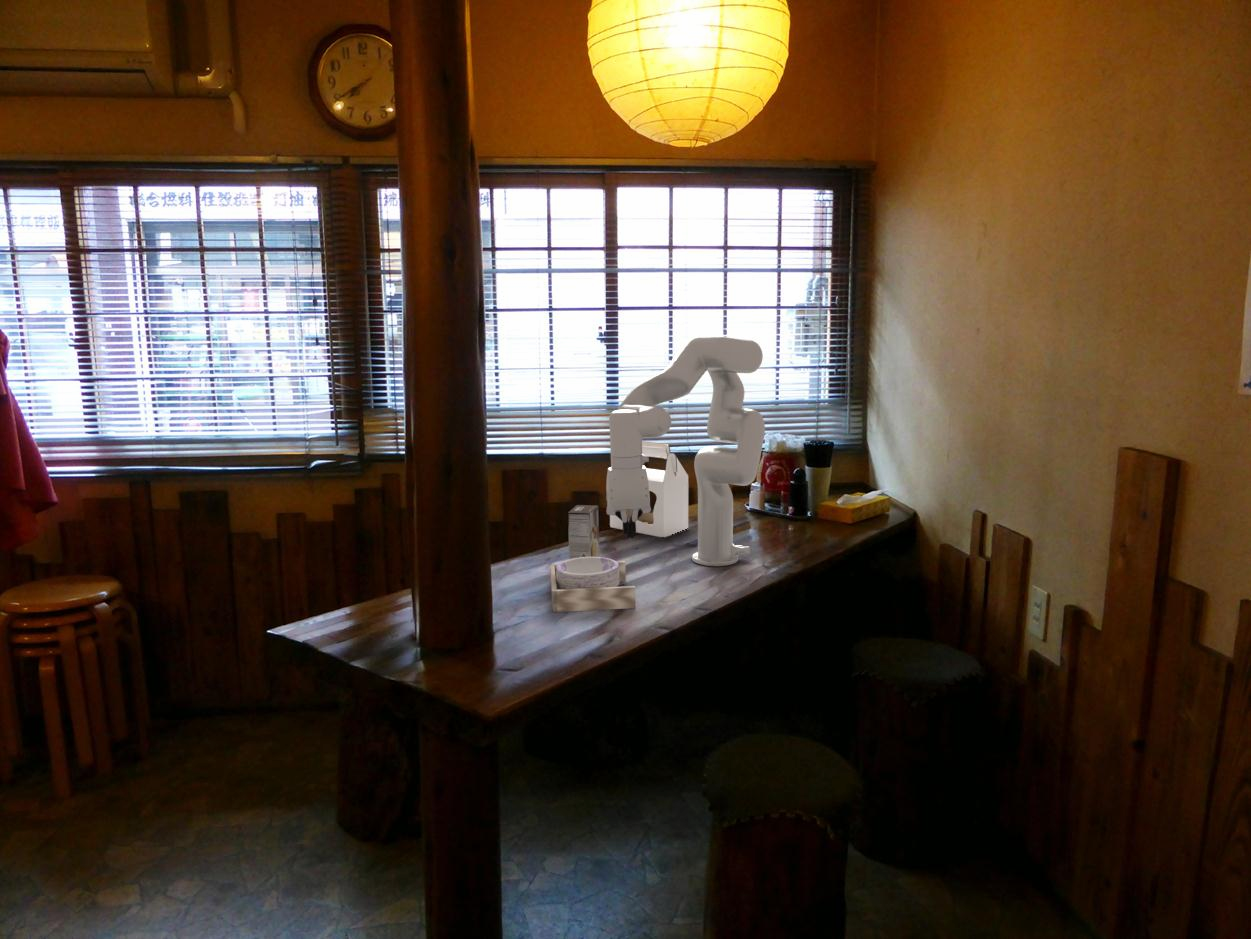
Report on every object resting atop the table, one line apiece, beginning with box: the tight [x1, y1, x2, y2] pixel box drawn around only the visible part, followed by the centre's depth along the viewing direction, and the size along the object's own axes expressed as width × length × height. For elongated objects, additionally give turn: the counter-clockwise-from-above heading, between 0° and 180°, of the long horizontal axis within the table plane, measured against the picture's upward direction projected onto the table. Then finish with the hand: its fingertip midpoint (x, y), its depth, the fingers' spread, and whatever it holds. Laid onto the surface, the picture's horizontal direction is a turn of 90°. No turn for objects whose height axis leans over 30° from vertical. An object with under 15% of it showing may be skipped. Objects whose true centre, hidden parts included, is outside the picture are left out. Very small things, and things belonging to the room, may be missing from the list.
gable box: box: [609, 440, 689, 538], centre depth 256 cm, size 22×13×28 cm, turn 51°
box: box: [549, 560, 637, 613], centre depth 195 cm, size 19×21×5 cm
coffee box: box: [567, 504, 601, 560], centre depth 217 cm, size 9×6×16 cm
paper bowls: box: [556, 556, 621, 590], centre depth 194 cm, size 15×15×8 cm
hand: (629, 536), depth 194 cm, fingers closed
